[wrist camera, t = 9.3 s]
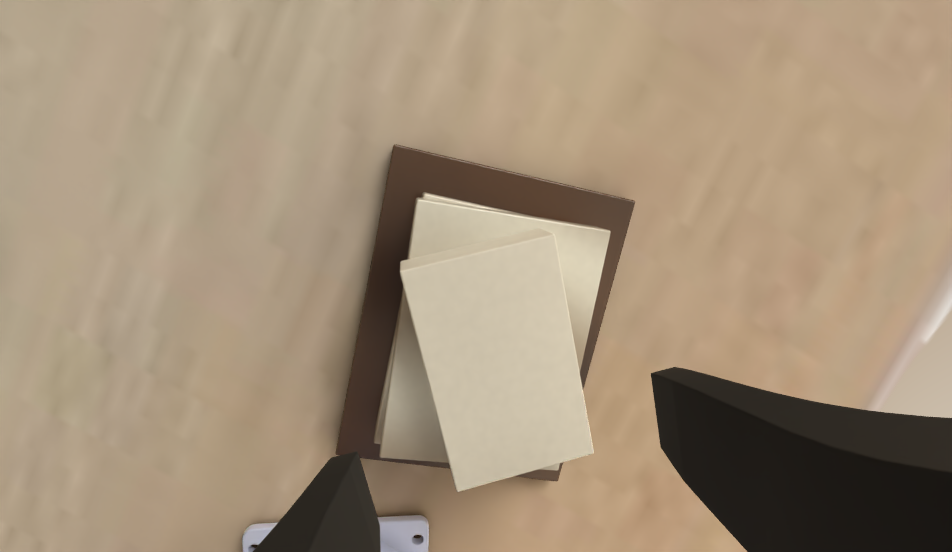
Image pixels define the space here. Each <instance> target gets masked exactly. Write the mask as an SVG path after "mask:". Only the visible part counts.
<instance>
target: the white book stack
mask: <svg viewBox="0 0 952 552" xmlns="http://www.w3.org/2000/svg"><path fill="white" fill-rule="evenodd" d="M634 204H635V201H633V200H629V199H625V198H620V197H616V196H612V195H608V194H603V193H599V192H595V191H591V190H586V189H582V188H578V187H574V186H569V185H565V184H561V183H557V182H552V181H548V180H544V179H540V178H536V177H531V176H527V175H523V174H519V173H514V172H510V171H506V170H502V169H497V168H493V167H489V166H485V165H480V164H476V163H472V162H468V161H463V160H459V159H455V158H451V157H446V156H442V155H438V154H434V153H430V152H425V151H421V150H417V149H413V148H408V147H404V146H400V145H394V146H393V151H392V156H391V161H390V167H389V172H388V177H387V183H386V188H385V193H384V199H383V204H382V209H381V215H380V220H379V225H378V231H377V236H376V241H375V247H374V252H373V257H372V262H371V268H370V273H369V278H368V284H367V289H366V294H365V300H364V305H363V310H362V316H361V321H360V326H359V332H358V337H357V342H356V348H355V353H354V358H353V364H352V369H351V374H350V380H349V385H348V390H347V396H346V401H345V406H344V411H343V417H342V422H341V427H340V433H339V438H338V443H337V449H336V455H344V454H348V453H352V452H355V451H358V454H359V457H360V458H365V459H374V460H382V461H390V462H399V463H407V464H415V465H424V466H432V467H440V468H449V469H451V468H450V465H449V461H448V457H447V453H446V449H445V445H444V441H443V438H442V434H441V430H440V426H439V422H438V418H437V414H436V411H435V407H434V403H433V399H432V395H431V391H430V387H429V383H428V380H427V376H426V372H425V368H424V364H423V360H422V356H421V353H420V349H419V345H418V341H417V337H416V333H415V329H414V326H413V322H412V318H411V314H410V310H409V306H408V302H407V299H406V295H405V291H404V287H403V283H402V279H401V275H400V262H401V261H403V260H407V259H412V258H416V257H420V256H424V255H428V254H433V253H437V252H441V251H445V250H449V249H453V248H458V247H462V246H466V245H470V244H474V243H479V242H483V241H487V240H491V239H495V238H500V237H504V236H508V235H512V234H516V233H521V232H525V231H529V230H533V229H537V228H540V229H543V230H545V231H548V232H550V233H552V234H554V235H555V238H556V243H557V249H558V255H559V260H560V266H561V271H562V277H563V283H564V288H565V294H566V299H567V305H568V310H569V316H570V322H571V327H572V333H573V338H574V344H575V350H576V355H577V361H578V366H579V372H580V377H581V383H582V389H583V388H584V384H585V381H586V377H587V374H588V370H589V366H590V363H591V359H592V356H593V352H594V348H595V345H596V341H597V338H598V334H599V330H600V327H601V323H602V319H603V316H604V312H605V309H606V305H607V301H608V298H609V294H610V291H611V287H612V283H613V280H614V276H615V273H616V269H617V265H618V262H619V258H620V254H621V251H622V247H623V244H624V240H625V236H626V233H627V229H628V226H629V222H630V218H631V215H632V211H633V208H634ZM562 464H563V462H562V463H559V464H555V465H552V466H548V467H545V468H541V469H538V470H534V471H531V472H527V473H524V474H520V475H517V476H516V477H524V478H532V479H541V480H549V481H558V478H559V475H560V471H561V467H562Z"/></svg>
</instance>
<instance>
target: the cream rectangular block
mask: <svg viewBox="0 0 952 552" xmlns="http://www.w3.org/2000/svg"><path fill="white" fill-rule="evenodd" d="M400 275H401V279H402V283H403V287H404V291H405V295H406V299H407V302H408V306H409V310H410V314H411V318H412V322H413V326H414V329H415V333H416V337H417V341H418V345H419V349H420V353H421V356H422V360H423V364H424V368H425V372H426V376H427V380H428V383H429V387H430V391H431V395H432V399H433V403H434V407H435V411H436V414H437V418H438V422H439V426H440V430H441V434H442V438H443V441H444V445H445V449H446V453H447V457H448V461H449V465H450V468H451V472H452V476H453V480H454V484H455V488H456V491H457V492H460V491H464V490H467V489H471V488H474V487H478V486H481V485H485V484H488V483H492V482H495V481H499V480H503V479H506V478H510V477H513V476H517V475H520V474H524V473H527V472H531V471H534V470H538V469H541V468H545V467H548V466H552V465H555V464H559V463H562V462H566V461H569V460H573V459H576V458H580V457H583V456H587V455H590V454H593V453H594V450H593V444H592V439H591V433H590V428H589V422H588V416H587V411H586V405H585V400H584V394H583V389H582V383H581V377H580V372H579V366H578V361H577V355H576V350H575V344H574V338H573V333H572V327H571V322H570V316H569V310H568V305H567V299H566V294H565V288H564V283H563V277H562V271H561V266H560V260H559V255H558V249H557V243H556V238H555V235H554V234H552V233H550V232H548V231H545V230H543V229H540V228H537V229H533V230H529V231H525V232H521V233H516V234H512V235H508V236H504V237H500V238H495V239H491V240H487V241H483V242H479V243H474V244H470V245H466V246H462V247H458V248H453V249H449V250H445V251H441V252H437V253H433V254H428V255H424V256H420V257H416V258H412V259H407V260H403V261H401V262H400Z"/></svg>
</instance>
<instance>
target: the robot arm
mask: <svg viewBox="0 0 952 552" xmlns="http://www.w3.org/2000/svg"><path fill="white" fill-rule="evenodd" d="M651 378H652V386H653V393H654V401H655V408H656V415H657V423H658V430H659V438H660V445H661V448H662V450H663V451H664V453H665V454H666V456H667V457H668V459H669V460H670V462H671V463H672V465H673V466H674V468H675V469H676V470H677V472H678V473H679V475H680V476H681V477H682V479H683V480H684V482H685V483H686V484H687V485H688V486H689V487H690V488H691V490H692V491H693V492H694V493H695V494H696V495H697V496H698V497H699V499H700V500H701V501H702V502H703V503H704V504H705V505H706V506H707V508H708V509H709V510H710V511H711V512H712V513H713V514H714V515H715V516H716V517H717V519H718V520H719V521H720V522H721V523H722V524H723V525H724V526H725V527H726V528H727V530H728V531H729V532H730V533H731V534H732V535H733V536H734V537H735V538H736V539H737V541H738V542H739V543H740V544H741V545H742V546H743V547H744V548H745V549H746V550H747V552H952V418H940V417H924V416H915V415H904V414H894V413H884V412H876V411H868V410H861V409H855V408H848V407H842V406H836V405H830V404H824V403H819V402H814V401H809V400H804V399H800V398H795V397H791V396H786V395H782V394H777V393H773V392H769V391H765V390H762V389H758V388H754V387H750V386H746V385H743V384H739V383H736V382H732V381H728V380H725V379H721V378H718V377H714V376H711V375H707V374H703V373H699V372H696V371H692V370H687V369H683V368H677V367H673V368H669V369H665V370H662V371H658V372H654V373H651ZM415 535H421V536H422V537H421V538H418V539H417V538H414V536H415ZM253 544H256V545H258V546H257V547H256V548H254V547H252V545H253ZM428 546H429V523H428V520H427V518H426V517H424V516H422V515H410V516H391V517H377V514H376V511H375V507H374V504H373V501H372V497H371V494H370V491H369V487H368V484H367V481H366V477H365V474H364V471H363V467H362V464H361V461H360V457H359V454H358V451H355V452H352V453H348V454H344V455H340V456H337V457H333V458H331V459H330V460H329V461H328V462H327V463H326V464H325V466H324V467H323V468H322V469H321V471H320V472H319V473H318V474H317V476H316V477H315V478H314V480H313V481H312V482H311V483H310V485H309V486H308V487H307V488H306V490H305V491H304V492H303V493H302V495H301V496H300V497H299V498H298V500H297V501H296V502H295V503H294V505H293V506H292V507H291V508H290V510H289V511H288V512H287V513H286V514H285V516H284V517H283V518H282V519H281V520H280V521H279V522H278V523H260V524H252V525H250V526H248V527H247V528H246V530H245V532H244V534H243V537H242V547H243V552H428Z"/></svg>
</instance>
